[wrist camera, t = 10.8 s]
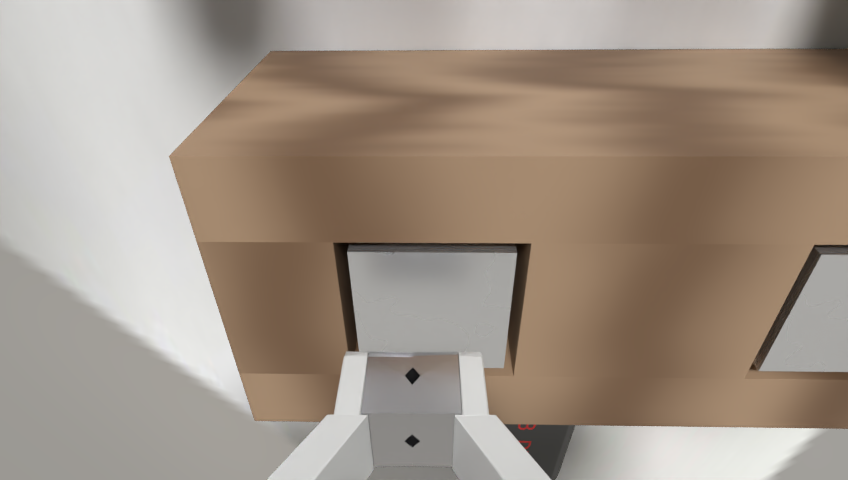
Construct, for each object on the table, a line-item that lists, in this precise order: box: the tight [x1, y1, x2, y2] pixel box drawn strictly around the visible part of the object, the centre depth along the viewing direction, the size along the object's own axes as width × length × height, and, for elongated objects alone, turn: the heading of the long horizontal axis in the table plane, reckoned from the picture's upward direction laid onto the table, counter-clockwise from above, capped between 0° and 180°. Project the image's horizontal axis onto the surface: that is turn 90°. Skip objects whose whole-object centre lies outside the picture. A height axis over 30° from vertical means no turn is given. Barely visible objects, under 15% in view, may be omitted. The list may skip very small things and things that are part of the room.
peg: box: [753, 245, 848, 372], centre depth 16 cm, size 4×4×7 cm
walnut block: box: [169, 49, 848, 429], centre depth 16 cm, size 22×9×8 cm, turn 91°
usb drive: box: [504, 424, 575, 480], centre depth 28 cm, size 5×12×3 cm, turn 178°
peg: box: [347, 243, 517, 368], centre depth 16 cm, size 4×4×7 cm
